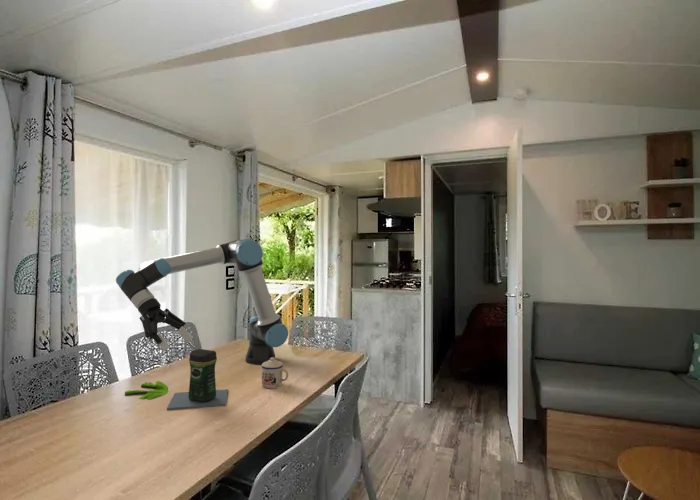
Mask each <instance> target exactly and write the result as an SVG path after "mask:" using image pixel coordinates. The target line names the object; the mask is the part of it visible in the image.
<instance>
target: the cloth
mask: <svg viewBox="0 0 700 500" xmlns="http://www.w3.org/2000/svg"><path fill="white" fill-rule="evenodd" d="M140 387H141V388H145V389H146V388H147V389H150V390H145V389H144V390H143V389H142V390H141V389H134V390H126V391H124V396H128V395H141V396H140V397H138V399H139V400H147V401H150V400H153V399H157V398H160V397H163V396H165V395H167V394H168V393H169V387H168V386H167V384H165V383H164V382H162V381H159V380H157V381H154V383H152V382H147V381H145V382H144V383H142V384H141V385H140Z"/></svg>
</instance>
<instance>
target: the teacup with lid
mask: <svg viewBox="0 0 700 500" xmlns="http://www.w3.org/2000/svg"><path fill="white" fill-rule="evenodd" d="M260 365H261V387H262V388H265V389H269V388H272V389H277V387H278V388H281V387H282V385H283V382H285V381H287V380H288V378H289V372H288V370H287V369H284V368H283V367H284V364H283V362H282V361H279V360H277V359H276V357H275V358H270V360H268V361H267V362H264V363H263V364H260ZM283 373H285V378H283Z"/></svg>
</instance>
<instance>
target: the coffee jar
mask: <svg viewBox="0 0 700 500" xmlns="http://www.w3.org/2000/svg"><path fill="white" fill-rule="evenodd" d="M188 358H189V360H188V363H189V367H190V369H189V371H190V376H189V386H188V387H189V388H188V392H189V399H190V400H193V401H198V402H205V401H210V400H212V399H214V398H215V397H216V390H217V388H216V387H217V385H216V364H217V360H218V357H217V352H216V350H210V349H203V348H198V349H197V348H196V349H194V350H191V352H190V353H189V357H188Z"/></svg>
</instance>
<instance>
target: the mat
mask: <svg viewBox="0 0 700 500" xmlns="http://www.w3.org/2000/svg"><path fill="white" fill-rule="evenodd" d="M228 392H229V389H216V397H215V398H214V399H212V400H210V401H205V402H198V401H193V400H190V399H189V391H183V392H174V393H173V396H172V397H171V400H170V401H169V403H168V406H167V407H166V410H167V411H171V410H172V411H174V410H183V409H196V408H197V409H198V408H199V409H200V408H209V407H211V408H212V407H224V406H225V407H226V405H227V399H228Z"/></svg>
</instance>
